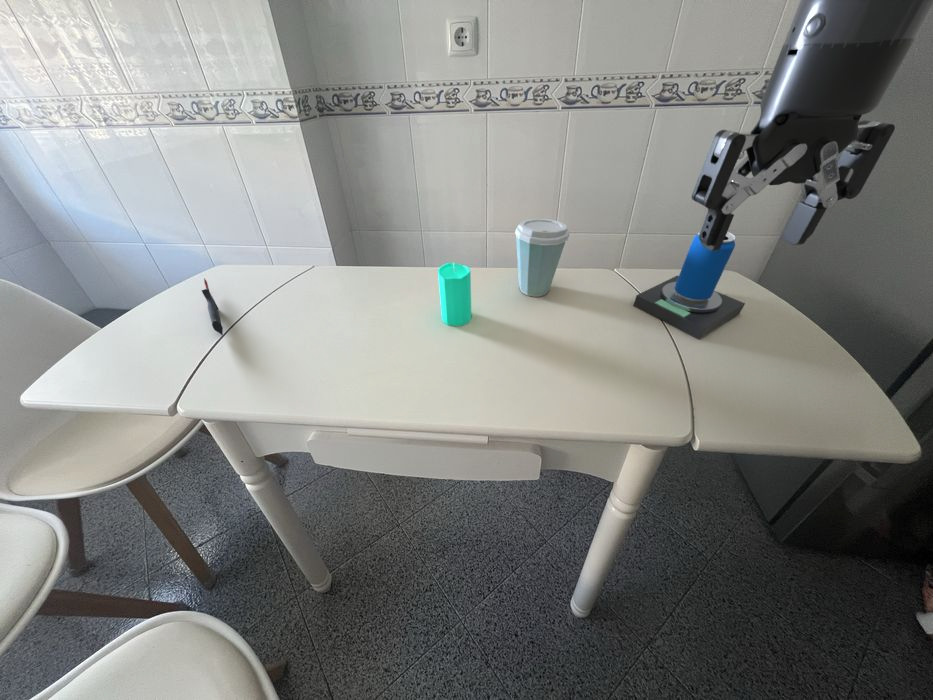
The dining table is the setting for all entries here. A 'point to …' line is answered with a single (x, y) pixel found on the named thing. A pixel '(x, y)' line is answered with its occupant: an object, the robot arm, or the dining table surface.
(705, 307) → the scale pan
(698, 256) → the beverage can
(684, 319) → the scale
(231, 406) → the dining table surface
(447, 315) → the candle
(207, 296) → the knife
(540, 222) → the disposable coffee cup
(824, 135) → the robot arm
